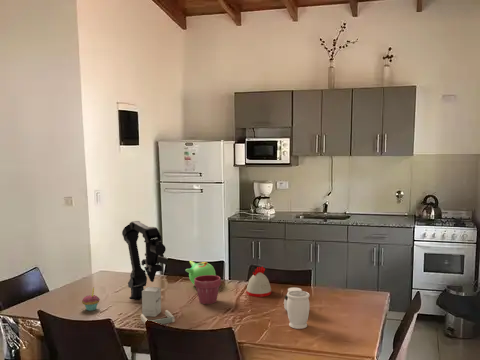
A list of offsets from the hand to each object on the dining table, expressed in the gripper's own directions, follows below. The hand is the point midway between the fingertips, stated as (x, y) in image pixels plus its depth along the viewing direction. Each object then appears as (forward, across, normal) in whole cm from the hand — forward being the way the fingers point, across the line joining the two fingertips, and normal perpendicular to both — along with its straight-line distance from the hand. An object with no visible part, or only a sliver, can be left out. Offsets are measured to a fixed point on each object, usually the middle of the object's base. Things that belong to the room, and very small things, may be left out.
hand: (152, 281), depth 242 cm
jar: (+13, -58, -52) cm, 79 cm away
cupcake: (+13, +10, +29) cm, 34 cm away
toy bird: (+13, +22, -36) cm, 44 cm away
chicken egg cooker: (+13, -7, -60) cm, 62 cm away
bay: (+13, -22, +4) cm, 25 cm away
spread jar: (+13, -41, -61) cm, 75 cm away
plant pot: (+13, -7, -28) cm, 32 cm away
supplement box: (+13, -12, +4) cm, 18 cm away
